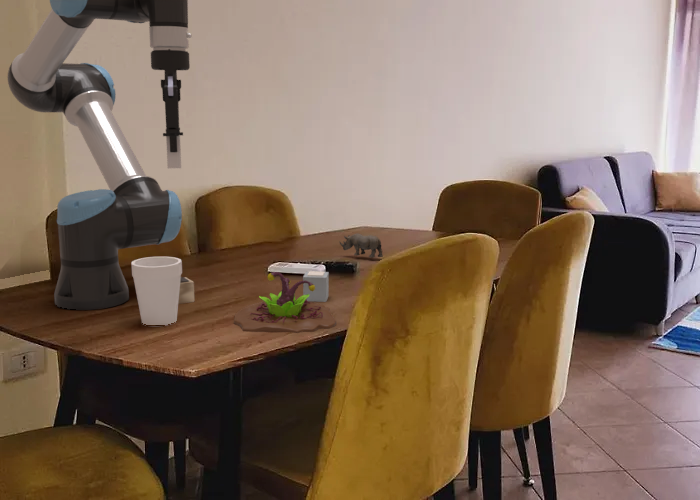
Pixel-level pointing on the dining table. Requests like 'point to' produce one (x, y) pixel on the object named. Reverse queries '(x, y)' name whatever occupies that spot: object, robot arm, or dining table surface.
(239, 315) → the plant
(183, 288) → the tile block
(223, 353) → the dining table surface
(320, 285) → the tile block
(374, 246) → the rhino figurine
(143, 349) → the dining table surface
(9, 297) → the dining table surface
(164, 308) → the foam cup
